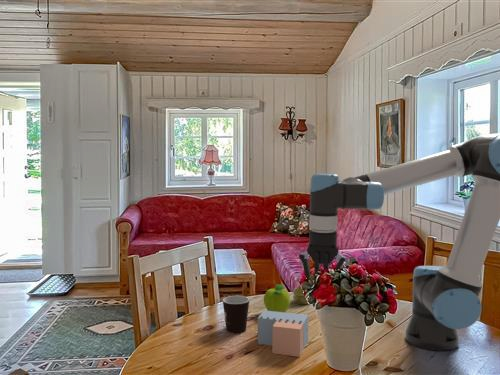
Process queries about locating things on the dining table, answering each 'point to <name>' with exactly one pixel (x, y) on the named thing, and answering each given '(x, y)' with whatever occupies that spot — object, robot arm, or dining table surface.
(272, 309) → the fruit
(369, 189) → the robot arm
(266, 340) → the pad
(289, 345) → the block
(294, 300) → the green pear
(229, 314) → the coffee mug
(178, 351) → the dining table surface
